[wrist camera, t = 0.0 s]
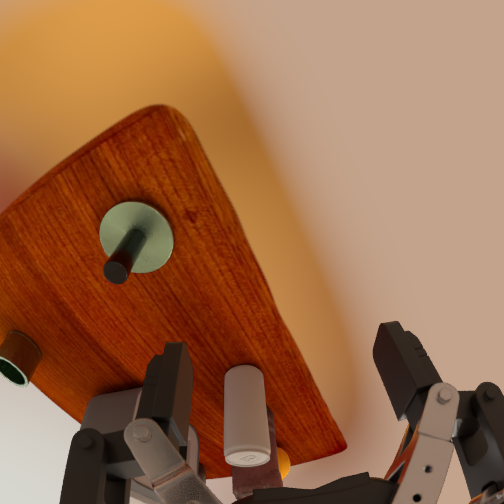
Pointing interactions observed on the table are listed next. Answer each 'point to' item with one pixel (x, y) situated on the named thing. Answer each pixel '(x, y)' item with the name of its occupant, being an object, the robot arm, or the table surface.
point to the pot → (18, 358)
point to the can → (258, 470)
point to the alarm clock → (117, 418)
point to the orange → (283, 462)
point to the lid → (134, 240)
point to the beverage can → (245, 418)
